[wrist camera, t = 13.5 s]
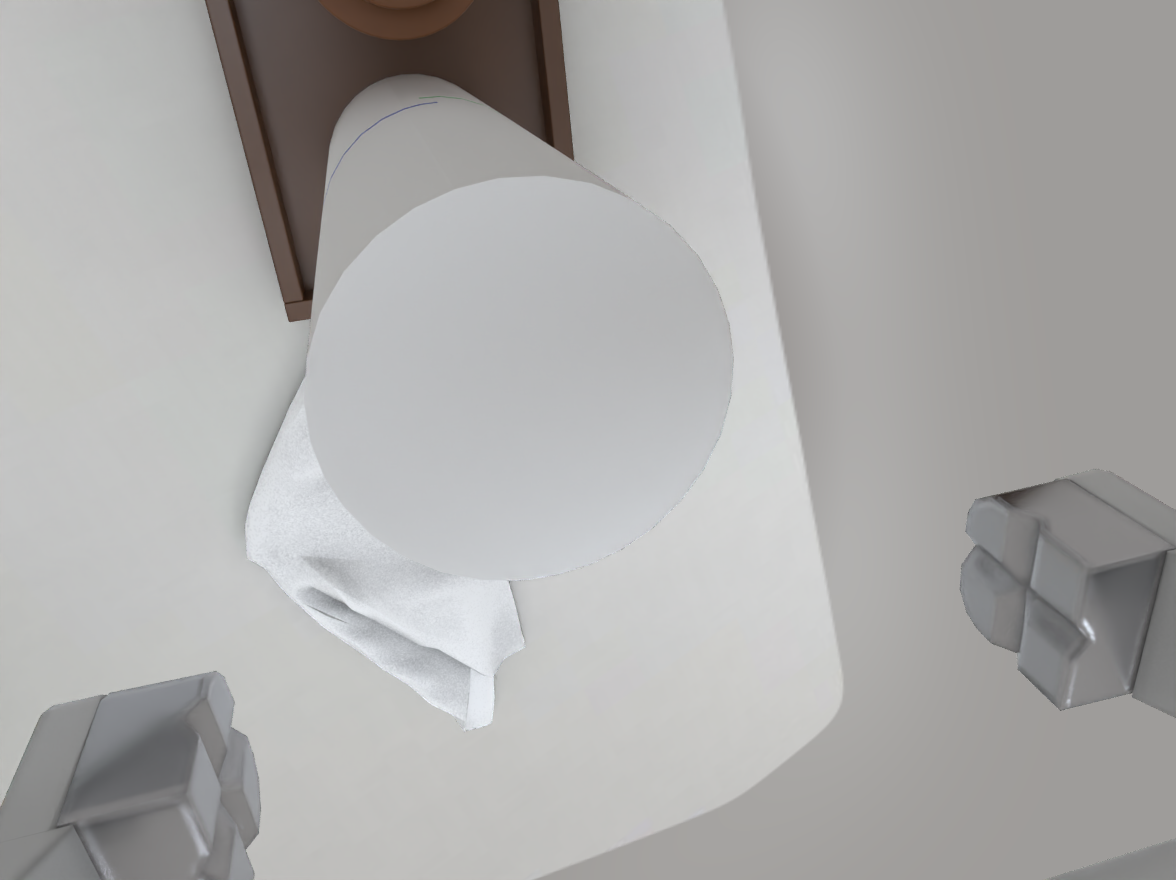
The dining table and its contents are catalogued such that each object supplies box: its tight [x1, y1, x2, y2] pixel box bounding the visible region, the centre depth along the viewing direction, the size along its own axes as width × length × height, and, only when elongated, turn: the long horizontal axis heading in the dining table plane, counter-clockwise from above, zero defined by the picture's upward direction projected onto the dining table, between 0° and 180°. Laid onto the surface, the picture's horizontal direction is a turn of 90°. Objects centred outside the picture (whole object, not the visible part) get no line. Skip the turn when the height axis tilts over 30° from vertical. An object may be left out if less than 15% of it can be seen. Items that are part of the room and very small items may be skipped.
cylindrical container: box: [304, 74, 734, 581], centre depth 26 cm, size 7×7×25 cm
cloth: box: [245, 378, 526, 732], centre depth 42 cm, size 26×14×2 cm, turn 175°
